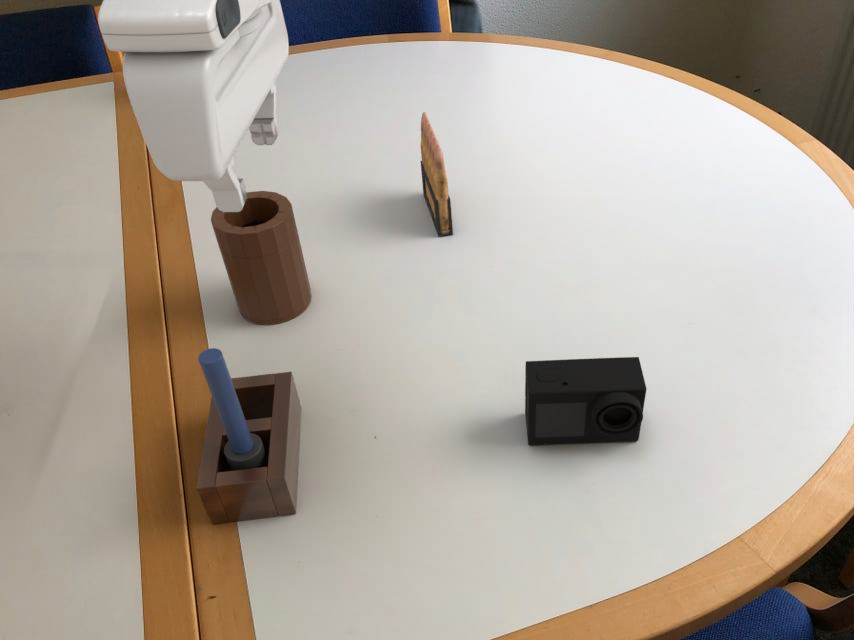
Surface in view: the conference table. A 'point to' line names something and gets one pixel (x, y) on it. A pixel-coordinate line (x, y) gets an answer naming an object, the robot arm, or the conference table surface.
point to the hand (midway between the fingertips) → (251, 171)
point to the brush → (231, 415)
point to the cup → (264, 258)
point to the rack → (280, 433)
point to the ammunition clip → (435, 180)
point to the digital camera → (584, 400)
